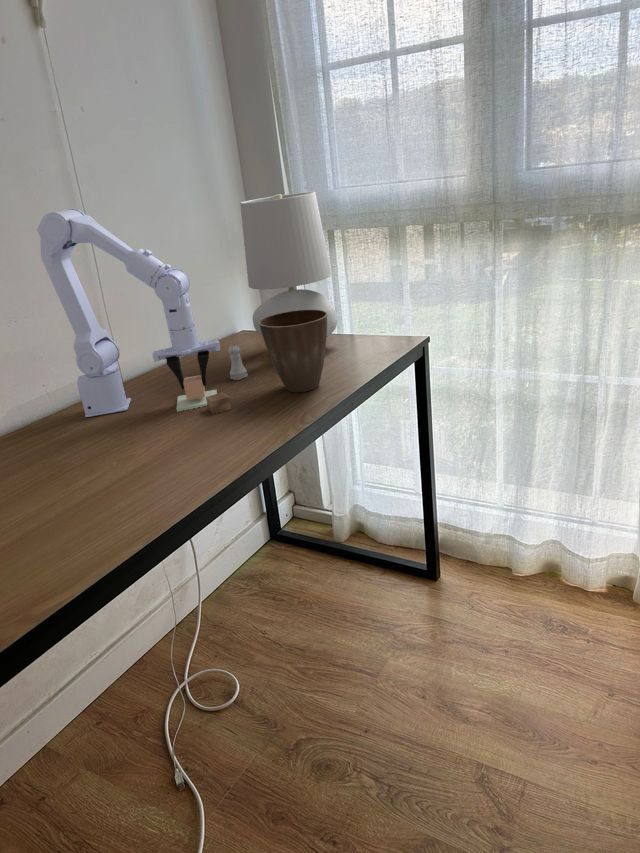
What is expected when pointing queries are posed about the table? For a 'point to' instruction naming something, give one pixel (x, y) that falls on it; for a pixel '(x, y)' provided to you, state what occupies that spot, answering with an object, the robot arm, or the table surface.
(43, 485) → the table surface
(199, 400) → the base tile
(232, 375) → the rook chess piece
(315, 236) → the table lamp
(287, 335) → the plant pot
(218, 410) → the walnut brick
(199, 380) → the terracotta brick
